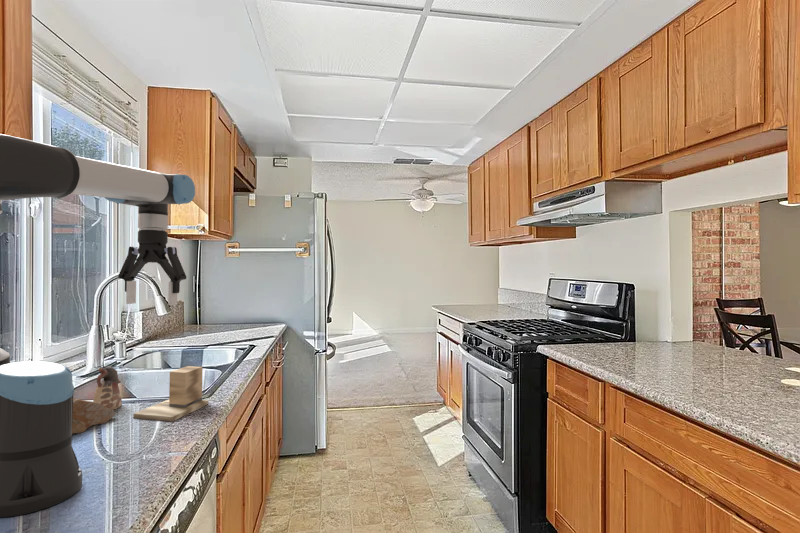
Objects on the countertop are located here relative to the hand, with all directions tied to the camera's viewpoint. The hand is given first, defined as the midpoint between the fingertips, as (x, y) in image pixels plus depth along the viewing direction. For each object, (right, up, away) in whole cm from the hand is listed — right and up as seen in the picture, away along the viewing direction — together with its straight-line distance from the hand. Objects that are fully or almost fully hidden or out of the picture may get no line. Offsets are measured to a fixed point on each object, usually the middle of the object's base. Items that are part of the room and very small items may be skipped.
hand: (151, 304), depth 130 cm
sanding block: (+8, -30, +5) cm, 31 cm away
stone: (-12, -31, -12) cm, 35 cm away
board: (+5, -31, +1) cm, 31 cm away
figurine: (-15, -31, +4) cm, 34 cm away
